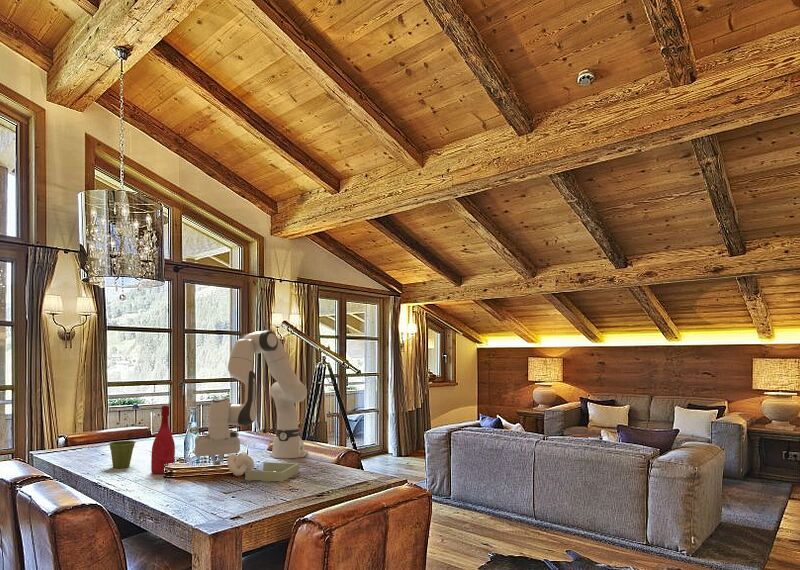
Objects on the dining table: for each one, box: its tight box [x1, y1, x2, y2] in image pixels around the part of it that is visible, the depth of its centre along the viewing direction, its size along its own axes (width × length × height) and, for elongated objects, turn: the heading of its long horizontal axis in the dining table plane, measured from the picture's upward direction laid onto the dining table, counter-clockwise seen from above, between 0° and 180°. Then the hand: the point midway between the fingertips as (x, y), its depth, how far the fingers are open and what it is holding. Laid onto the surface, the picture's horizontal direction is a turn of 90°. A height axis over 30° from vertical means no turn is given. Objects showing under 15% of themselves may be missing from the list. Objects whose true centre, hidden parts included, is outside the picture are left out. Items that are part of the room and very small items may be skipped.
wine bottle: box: [150, 404, 176, 475], centre depth 272 cm, size 10×10×30 cm
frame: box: [244, 461, 300, 483], centre depth 265 cm, size 20×17×4 cm
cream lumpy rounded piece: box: [226, 452, 255, 477], centre depth 268 cm, size 11×12×9 cm
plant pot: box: [108, 440, 137, 469], centre depth 283 cm, size 12×12×11 cm
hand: (216, 464), depth 270 cm, fingers closed
